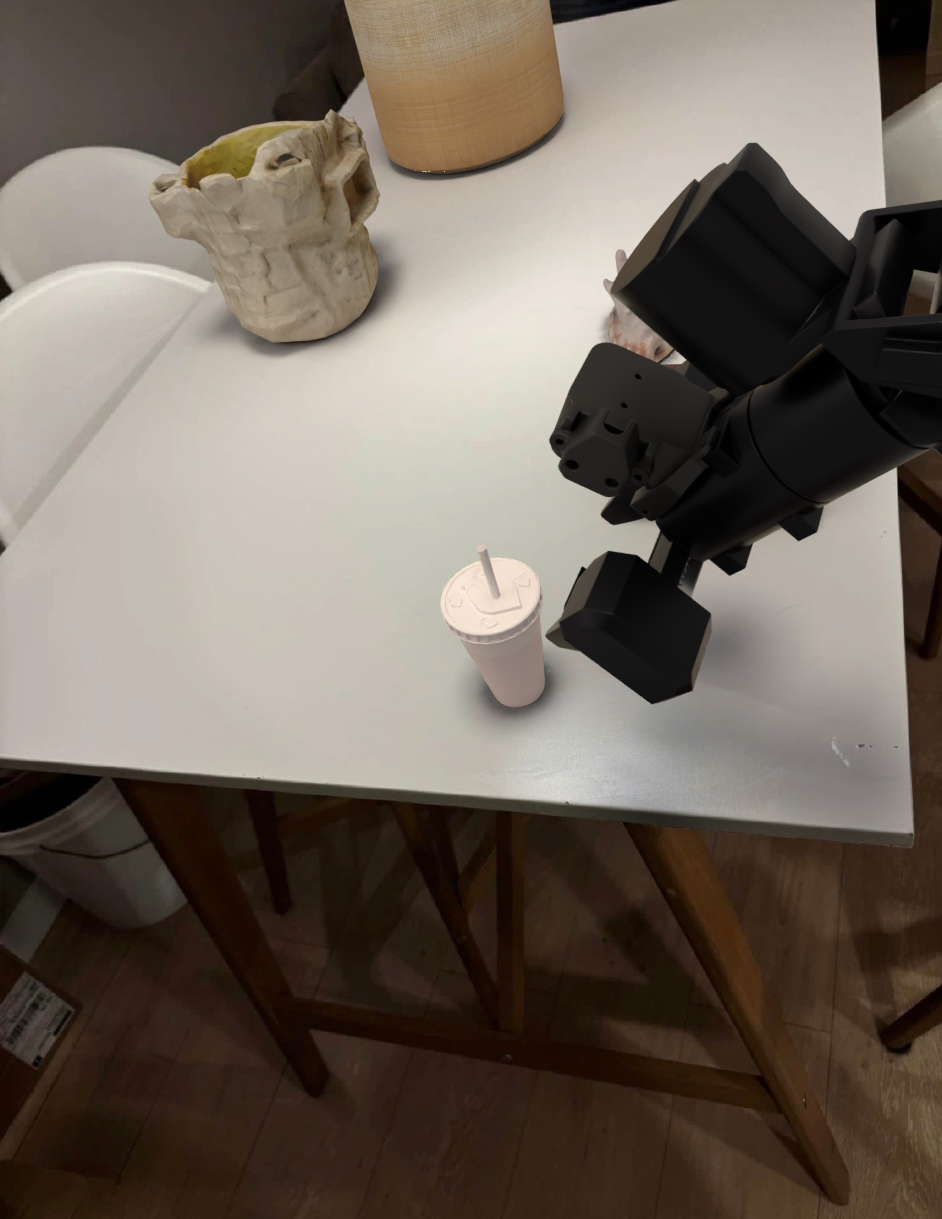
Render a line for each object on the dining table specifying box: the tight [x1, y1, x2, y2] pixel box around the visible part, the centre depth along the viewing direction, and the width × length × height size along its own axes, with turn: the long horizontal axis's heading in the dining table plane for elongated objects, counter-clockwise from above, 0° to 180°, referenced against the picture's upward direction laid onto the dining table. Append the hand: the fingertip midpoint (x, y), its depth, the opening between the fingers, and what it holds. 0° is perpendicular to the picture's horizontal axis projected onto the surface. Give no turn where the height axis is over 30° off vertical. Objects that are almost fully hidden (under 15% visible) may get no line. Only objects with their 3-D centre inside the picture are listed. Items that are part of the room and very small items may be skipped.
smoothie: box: [439, 544, 546, 708], centre depth 56 cm, size 6×6×14 cm
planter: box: [343, 0, 565, 175], centre depth 116 cm, size 25×25×22 cm
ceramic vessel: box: [148, 109, 381, 344], centre depth 96 cm, size 23×24×25 cm
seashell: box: [602, 248, 674, 363], centre depth 81 cm, size 10×12×9 cm
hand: (581, 576), depth 49 cm, fingers open, 9 cm apart
